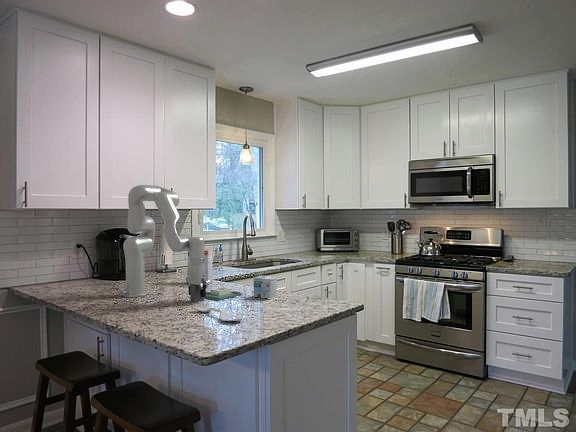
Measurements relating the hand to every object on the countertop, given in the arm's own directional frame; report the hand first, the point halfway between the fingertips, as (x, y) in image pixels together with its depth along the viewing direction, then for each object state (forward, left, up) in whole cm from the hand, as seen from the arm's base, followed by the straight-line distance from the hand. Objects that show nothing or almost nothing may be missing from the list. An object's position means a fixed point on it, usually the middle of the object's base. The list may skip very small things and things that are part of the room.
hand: (197, 295), depth 220 cm
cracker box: (+32, +37, -3) cm, 49 cm away
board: (+15, -1, -3) cm, 15 cm away
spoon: (-13, -30, -3) cm, 33 cm away
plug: (0, 0, -3) cm, 3 cm away
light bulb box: (+28, -21, -3) cm, 35 cm away
